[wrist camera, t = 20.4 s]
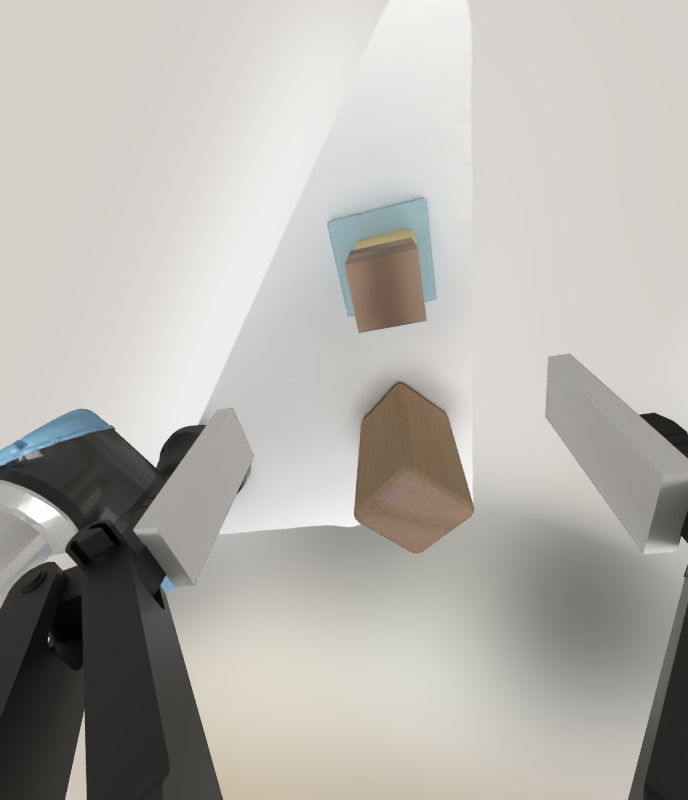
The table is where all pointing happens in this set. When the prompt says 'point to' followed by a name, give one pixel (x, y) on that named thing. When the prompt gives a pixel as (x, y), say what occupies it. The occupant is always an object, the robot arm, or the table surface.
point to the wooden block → (410, 472)
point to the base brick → (381, 223)
